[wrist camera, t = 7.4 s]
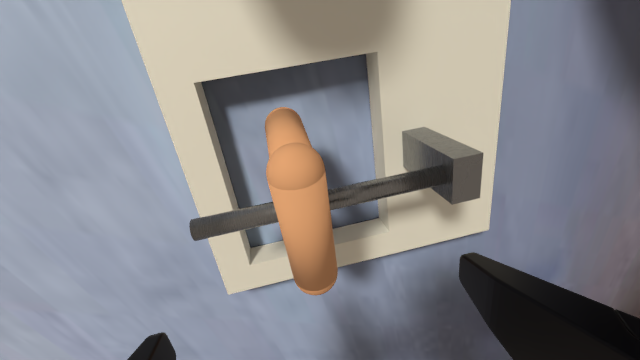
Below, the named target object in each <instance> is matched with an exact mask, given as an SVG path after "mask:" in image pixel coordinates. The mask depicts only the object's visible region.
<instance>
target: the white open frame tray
mask: <svg viewBox="0 0 640 360" xmlns="http://www.w3.org/2000/svg"><path fill="white" fill-rule="evenodd" d="M121 1H122V3H123V6H124V9H125V12H126V14H127V17H128V20H129V23H130V25H131V28H132V31H133V34H134V36H135V39H136V42H137V45H138V47H139V50H140V53H141V56H142V58H143V61H144V64H145V67H146V69H147V72H148V75H149V78H150V80H151V83H152V86H153V89H154V91H155V94H156V97H157V100H158V102H159V105H160V108H161V111H162V113H163V116H164V119H165V122H166V124H167V127H168V130H169V133H170V135H171V138H172V141H173V144H174V147H175V149H176V152H177V155H178V158H179V160H180V163H181V166H182V169H183V171H184V174H185V177H186V180H187V182H188V185H189V188H190V191H191V193H192V196H193V199H194V202H195V204H196V207H197V210H198V213H199V215H200V217H205V216H210V215H214V214H219V213H223V212H228V211H233V210H237V209H239V207H238V204H237V201H236V197H235V194H234V191H233V187H232V184H231V180H230V177H229V174H228V170H227V167H226V164H225V160H224V157H223V154H222V150H221V147H220V144H219V140H218V137H217V133H216V130H215V127H214V123H213V120H212V117H211V113H210V110H209V107H208V103H207V100H206V96H205V93H204V90H203V86H202V83H201V82H202V81H208V80H214V79H220V78H226V77H232V76H237V75H243V74H249V73H255V72H261V71H267V70H273V69H279V68H285V67H290V66H296V65H302V64H308V63H314V62H320V61H326V60H332V59H337V58H343V57H349V56H355V55H361V54H366V59H367V72H368V84H369V97H370V110H371V122H372V135H373V147H374V160H375V173H376V179H379V178H384V177H388V176H393V175H397V174H402V173H406V172H410V171H408V170H407V169H406V168H404V167H403V145H402V131H406V130H411V129H415V128H420V127H426V128H429V129H431V130H433V131H435V132H438V133H440V134H442V135H444V136H447V137H449V138H451V139H454V140H456V141H458V142H460V143H463V144H465V145H467V146H469V147H472V148H474V149H476V150H479V151H481V152H483V166H482V179H481V192H480V198H478V199H474V200H470V201H466V202H461V203H457V204H453V205H452V204H450V203H449V202H448V201H447V200H445V199H444V198H443V197H442V196H440V195H439V194H438V193H436V192H435V191H434V190H433V189H431V188H427V189H423V190H418V191H414V192H409V193H405V194H400V195H396V196H392V197H387V198H383V199H378V210H379V218H377V219H373V220H369V221H364V222H360V223H356V224H352V225H347V226H343V227H339V228H334V229H333V237H334V245H335V253H336V261H337V267H341V266H345V265H349V264H353V263H357V262H361V261H365V260H369V259H374V258H378V257H382V256H386V255H390V254H394V253H398V252H402V251H406V250H410V249H414V248H418V247H422V246H426V245H430V244H434V243H438V242H442V241H446V240H450V239H454V238H458V237H462V236H466V235H470V234H474V233H478V232H482V231H486V230H489V222H490V211H491V201H492V191H493V180H494V170H495V160H496V149H497V139H498V129H499V118H500V108H501V97H502V87H503V77H504V66H505V56H506V46H507V35H508V25H509V15H510V4H511V0H121ZM208 240H209V243H210V246H211V248H212V251H213V254H214V257H215V259H216V262H217V265H218V268H219V270H220V273H221V276H222V279H223V281H224V284H225V287H226V290H227V293H228V295H229V294H233V293H237V292H241V291H245V290H249V289H253V288H257V287H261V286H265V285H269V284H273V283H277V282H281V281H285V280H289V279H293V278H294V277H293V274H292V270H291V266H290V262H289V259H288V255H287V251H286V248H285V244H284V240H283V241H279V242H274V243H270V244H266V245H262V246H257V247H253V248H250V244H249V241H248V238H247V234H246V231H245V230H241V231H237V232H233V233H228V234H224V235H219V236H215V237H211V238H208Z"/></svg>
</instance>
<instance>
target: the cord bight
mask: <svg viewBox="0 0 640 360" xmlns="http://www.w3.org/2000/svg"><path fill="white" fill-rule="evenodd" d="M265 131H266V138H267V145H268V152H269V161H268V164H267V169H266V175H267V181H268V184H269V188H270V192H271V196H272V199H273V203H274V207H275V210H276V214H277V218H278V222H279V225H280V229H281V233H282V236H283V240H284V244H285V248H286V251H287V255H288V259H289V262H290V266H291V270H292V274H293V277H294V280H295V283H296V284H297V286H298V287H299V288H300V289H301V290H302V291H303V292H305V293H307V294H310V295H321V294H323V293H325V292H327V291H328V290H330V289H331V288H332V286H333V285H334V283H335V281H336V279H337V272H338V269H337V261H336V253H335V245H334V237H333V229H332V221H331V213H330V205H329V197H328V189H327V181H326V173H325V167H324V163H323V160H322V158H321V156H320V155H319V153H318V152H317V151H316V150H315V149H313V148H312V146H311V144H310V141H309V139H308V136H307V133H306V131H305V128H304V126H303V123H302V121H301V118H300V116H299V115H298V114H297V113H296V112H295V111H294V110H292V109H290V108H286V107H280V108H277V109H275V110H273V111H272V112H271V113H270V114H269V115H268V116H267V118H266V121H265Z"/></svg>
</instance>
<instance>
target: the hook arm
mask: <svg viewBox="0 0 640 360" xmlns="http://www.w3.org/2000/svg"><path fill="white" fill-rule="evenodd" d="M402 145H403V167H404V168H406V169H407V170H408V171H410V172H406V173H402V174H397V175H393V176H388V177H384V178H379V179H374V180H370V181H365V182H361V183H356V184H352V185H347V186H342V187H338V188H333V189H329V190H328V197H329V205H330V210H334V209H339V208H343V207H347V206H352V205H356V204H361V203H365V202H370V201H374V200H378V199H383V198H387V197H392V196H396V195H400V194H405V193H409V192H414V191H418V190H423V189H427V188H431V189H433V190H434V191H435V192H436V193H438V194H439V195H440V196H442V197H443V198H444V199H445V200H447V201H448V202H449V203H450V204H452V205H453V204H457V203H461V202H466V201H470V200H474V199H478V198H480V192H481V179H482V166H483V152H481V151H479V150H476V149H474V148H472V147H469V146H467V145H465V144H463V143H460V142H458V141H456V140H454V139H451V138H449V137H447V136H444V135H442V134H440V133H438V132H435V131H433V130H431V129H429V128H426V127H420V128H415V129H411V130H406V131H402ZM277 222H278V218H277V214H276V210H275V207H274V203H273V202H269V203H265V204H260V205H255V206H251V207H246V208H242V209H237V210H233V211H228V212H223V213H219V214H214V215H210V216H205V217H200V218H196V219H191V221H190V232H191V236H192V238H193V239H194V240H195V241H197V240H202V239H206V238H211V237H215V236H219V235H224V234H228V233H233V232H237V231H241V230H246V229H250V228H255V227H259V226H264V225H268V224H272V223H277Z"/></svg>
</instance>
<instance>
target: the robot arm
mask: <svg viewBox="0 0 640 360" xmlns="http://www.w3.org/2000/svg"><path fill="white" fill-rule="evenodd" d="M459 278H460V281H461V283H462V285H463V287H464V288H465V290H466V292H467V293H468V295H469V296H470V298H471V300H472V301H473V303H474V304H475V306H476V308H477V309H478V311H479V313H480V314H481V316H482V317H483V319H484V321H485V322H486V324H487V325H488V327H489V328H490V329H491V331H492V332H493V334H494V335H495V336H496V338H497V339H498V340H499V342H500V343H501V344H502V345H503V347H504V348H505V349H506V351H507V352H508V353H509V355H510V356H511V357H512V359H513V360H640V319H639V318H637V317H634V316H632V315H629V314H627V313H624V312H622V311H619V310H614V309H613V308H612V307H609V306H607V305H604V304H602V303H599V302H597V301H594V300H592V299H589V298H587V297H584V296H582V295H579V294H577V293H574V292H572V291H569V290H567V289H564V288H562V287H559V286H557V285H554V284H552V283H549V282H547V281H544V280H542V279H539V278H537V277H534V276H532V275H529V274H527V273H524V272H522V271H519V270H517V269H514V268H512V267H509V266H507V265H504V264H502V263H499V262H497V261H494V260H492V259H489V258H487V257H484V256H482V255H479V254H477V253H468V254H464V255H462V256H461V257H460V264H459ZM127 360H176V353H175V350H174V348H173V346H172V344H171V342H170V340H169V338H168V336H167V335H166V334H165V333H158V334H154V335H151V336H149V337H147V338H146V339H145V340H144V341H143V343H142V344H141V345H140V346H139V347H138V348H137V349H136V350H135V352H134V353H133V354H132V355H131V356H130V357H129V358H128V359H127Z"/></svg>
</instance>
